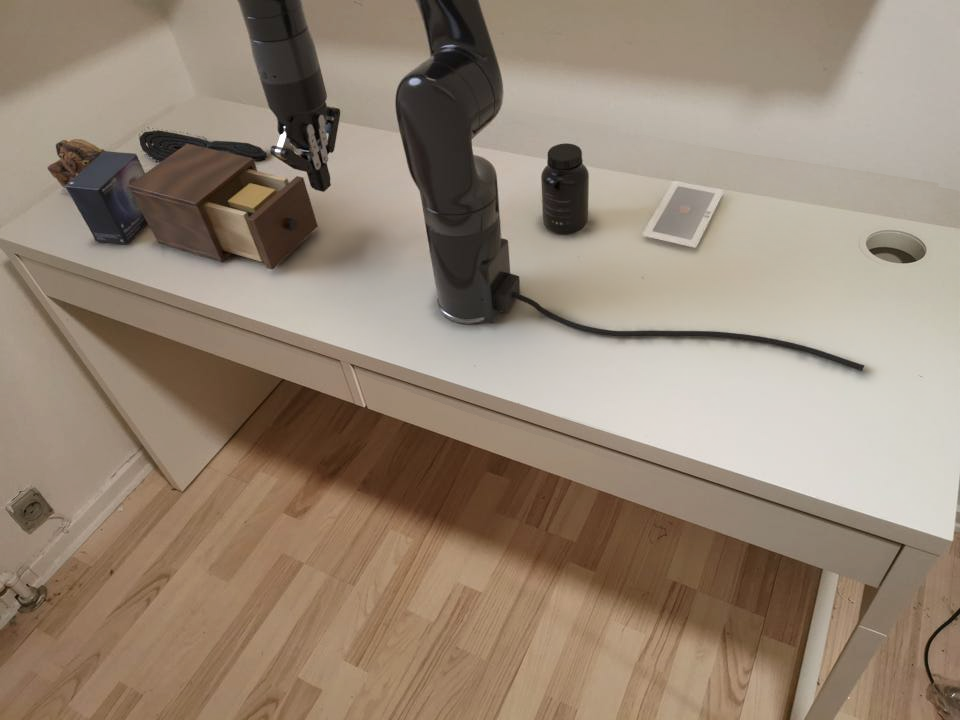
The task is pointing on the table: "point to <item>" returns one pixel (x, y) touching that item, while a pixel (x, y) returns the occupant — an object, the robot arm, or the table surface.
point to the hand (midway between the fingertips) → (322, 187)
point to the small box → (109, 197)
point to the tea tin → (251, 198)
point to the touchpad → (683, 214)
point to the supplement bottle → (565, 190)
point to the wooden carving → (72, 159)
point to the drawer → (262, 218)
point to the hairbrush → (172, 142)
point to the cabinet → (187, 197)
